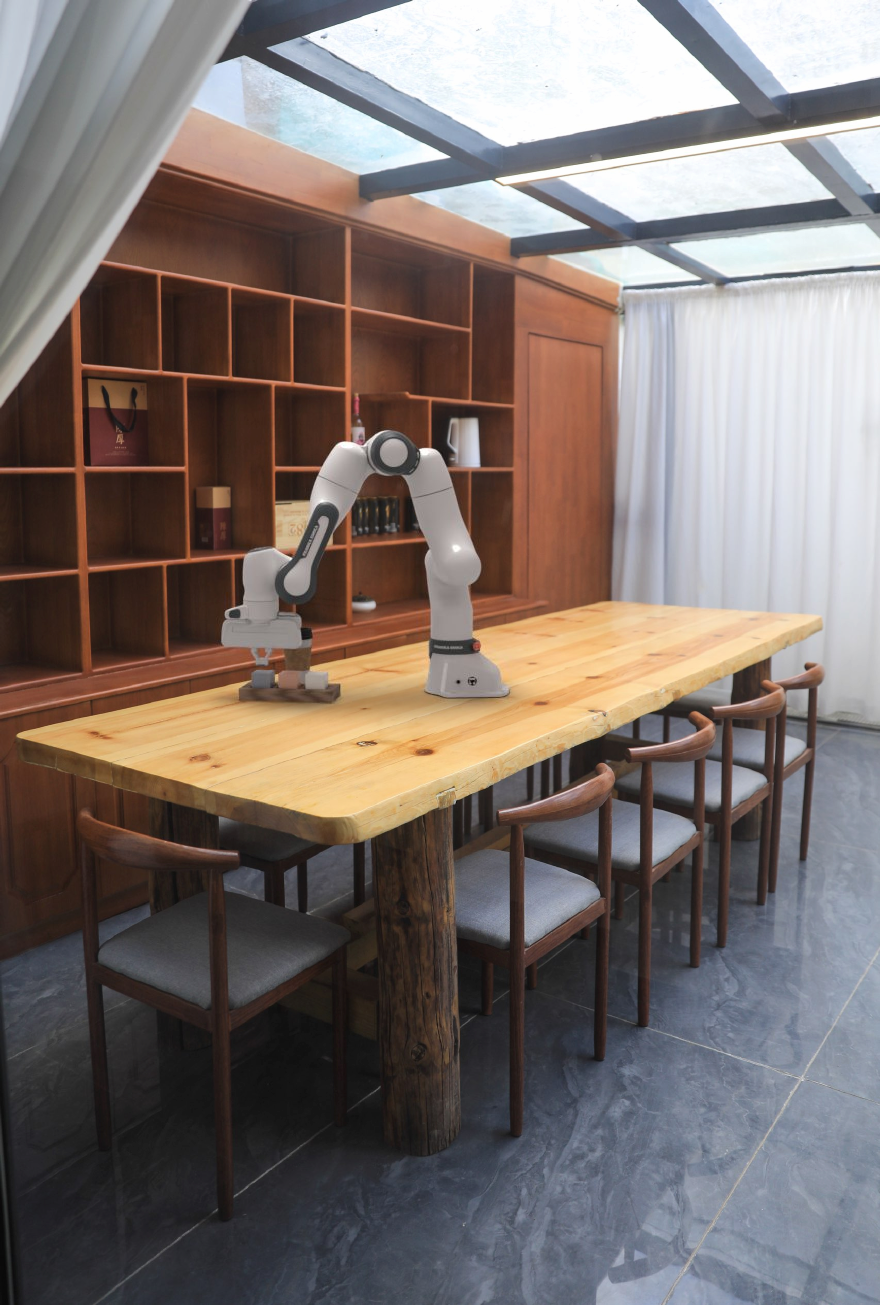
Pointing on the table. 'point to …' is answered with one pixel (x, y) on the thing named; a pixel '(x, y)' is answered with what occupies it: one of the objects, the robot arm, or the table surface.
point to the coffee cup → (300, 654)
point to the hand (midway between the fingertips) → (262, 665)
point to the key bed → (290, 694)
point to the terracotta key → (290, 679)
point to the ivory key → (316, 680)
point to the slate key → (263, 679)
